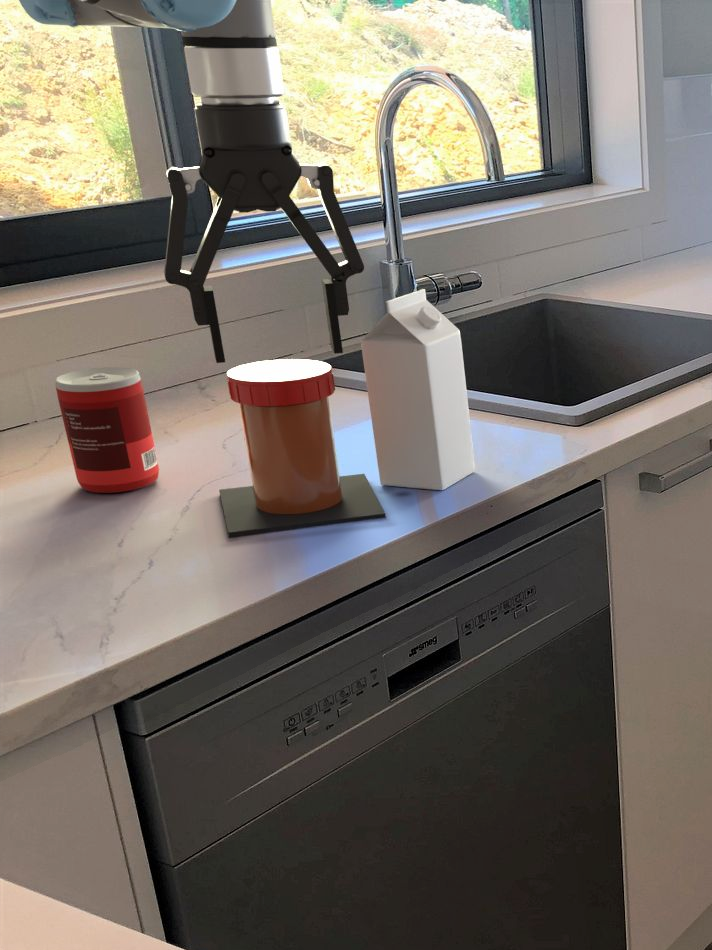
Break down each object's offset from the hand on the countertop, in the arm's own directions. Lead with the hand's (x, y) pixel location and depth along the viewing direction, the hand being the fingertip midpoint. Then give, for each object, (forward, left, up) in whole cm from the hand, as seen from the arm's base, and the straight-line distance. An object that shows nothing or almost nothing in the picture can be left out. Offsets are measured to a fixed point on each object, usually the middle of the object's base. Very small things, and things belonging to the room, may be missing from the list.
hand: (279, 354), depth 131 cm
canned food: (-16, +15, -15) cm, 27 cm away
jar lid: (0, 0, -2) cm, 2 cm away
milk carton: (+13, +4, -15) cm, 20 cm away
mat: (0, 0, -15) cm, 15 cm away
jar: (0, 0, -14) cm, 14 cm away
